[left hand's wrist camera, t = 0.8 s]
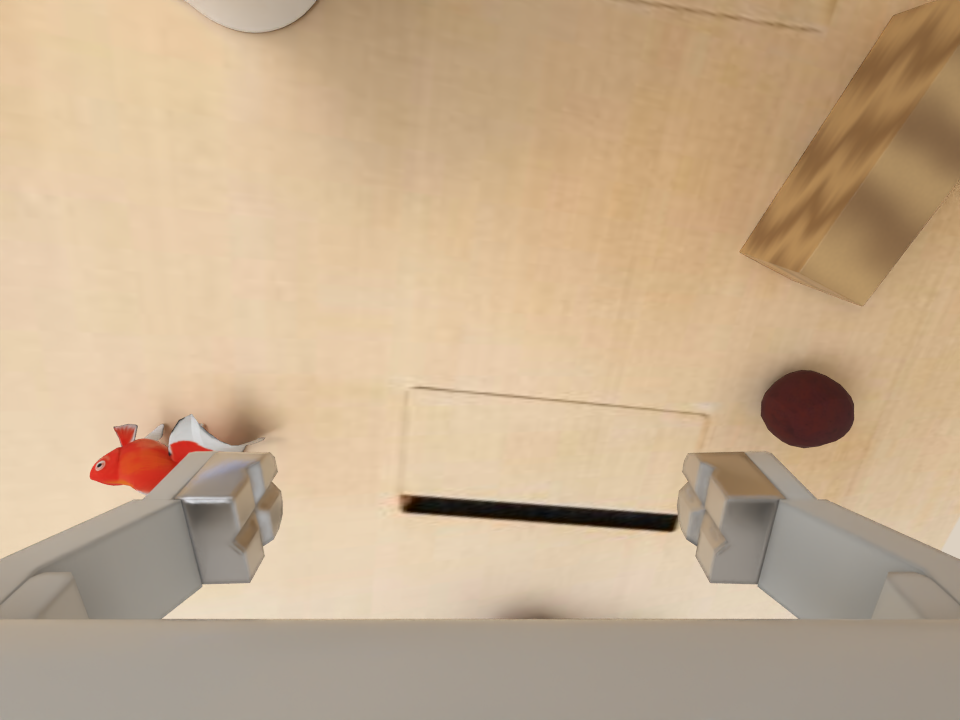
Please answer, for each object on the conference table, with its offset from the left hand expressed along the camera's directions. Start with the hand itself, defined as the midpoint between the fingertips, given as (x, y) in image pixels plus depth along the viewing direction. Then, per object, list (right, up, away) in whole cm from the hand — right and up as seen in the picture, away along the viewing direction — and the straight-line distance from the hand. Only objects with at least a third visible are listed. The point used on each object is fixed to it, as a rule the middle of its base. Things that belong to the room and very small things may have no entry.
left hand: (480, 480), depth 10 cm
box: (+32, +20, +35) cm, 52 cm away
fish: (-30, -6, +45) cm, 55 cm away
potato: (+32, -1, +44) cm, 54 cm away
